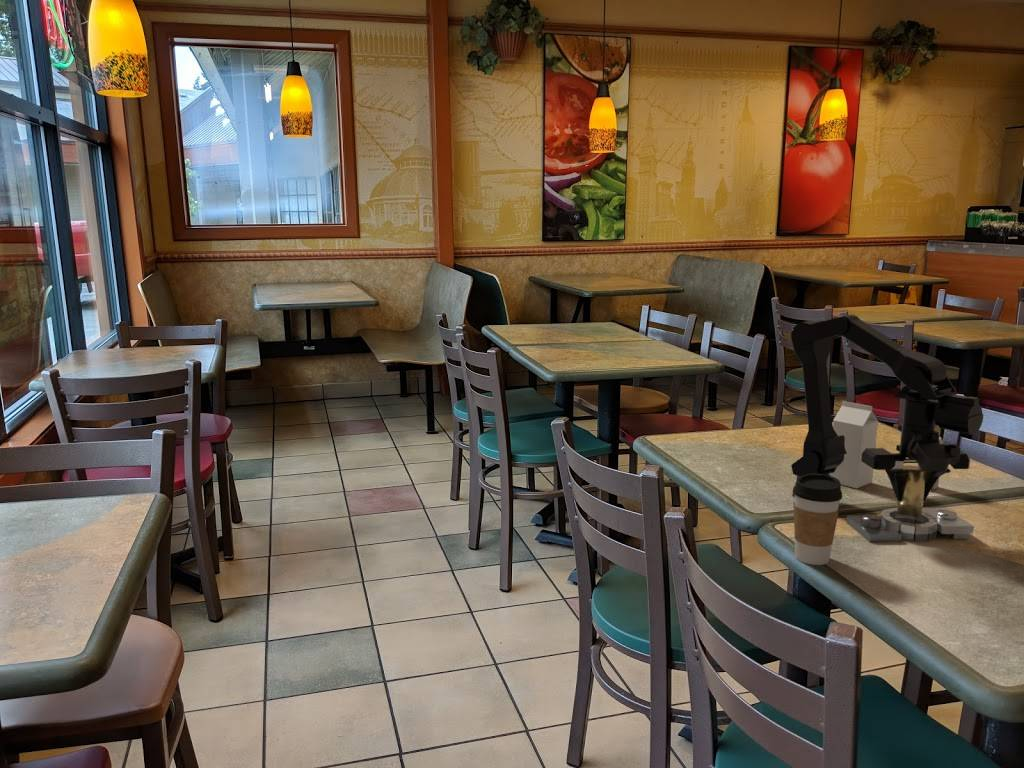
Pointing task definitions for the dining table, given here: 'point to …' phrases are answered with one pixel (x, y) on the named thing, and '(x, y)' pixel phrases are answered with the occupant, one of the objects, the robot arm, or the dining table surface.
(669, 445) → the dining table surface
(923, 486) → the pin
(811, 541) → the coffee cup
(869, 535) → the lower link
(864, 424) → the milk carton
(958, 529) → the upper link
